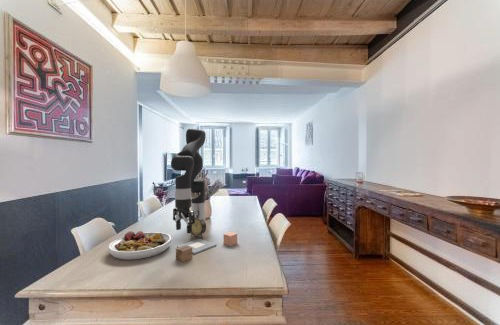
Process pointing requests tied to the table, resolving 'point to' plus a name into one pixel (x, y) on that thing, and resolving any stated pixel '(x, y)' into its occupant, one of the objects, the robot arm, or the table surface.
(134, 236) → the bowl
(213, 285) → the table surface
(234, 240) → the terracotta block
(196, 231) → the alarm clock
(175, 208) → the robot arm
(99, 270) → the table surface
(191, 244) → the grey square plate
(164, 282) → the table surface
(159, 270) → the table surface
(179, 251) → the walnut block
